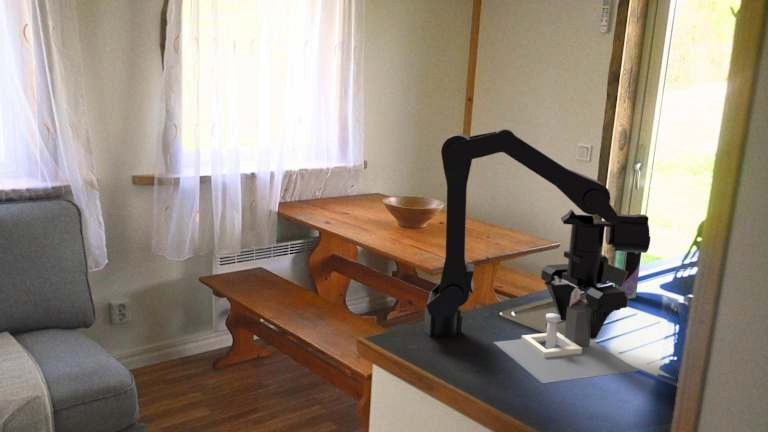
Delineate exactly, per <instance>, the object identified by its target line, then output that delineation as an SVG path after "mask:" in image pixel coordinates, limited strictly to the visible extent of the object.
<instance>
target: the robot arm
mask: <svg viewBox="0 0 768 432" xmlns="http://www.w3.org/2000/svg"><path fill="white" fill-rule="evenodd" d="M440 151H441V153H440V154H441V160H442V166H443V171H444V172H443V173H444V176H445V182H446V216H445V217H446V219H445V220H446V221H445V223H446V227H445V229H446V230H445V259H444V264H443V269H442V274H441V279H440V282H439V283H438V285H436V286H435V287H434V288H433V289H431V290H430V291H429V292H430V293H429V295H428V298H427V302H426V306H425V307H424V328H423V330H422V331H420V333H421V334H423V333H426V334H427V336H429V337H436V338H442V339H444V338H445V339H446V338H447V339H449V338H453V337H455V336H456V335H460V334H462V333H463V320H464V317H463V316H462V310H461V308H459V307H462V306H463V305H465V304H466V303H467V302H468V300H469V297H470V293H471V294H473V293H474V282H475V281H474V279H473V277H474V271H475V270H474V267H475V264H474V263H468V262H467V257H466V232H467V201H468V200H467V198H468V197H467V196H468V191H467V190H468V182H469V176H470V171H471V167H472V161H473V160H475V159H480V158H484V157H487V156H491V155H494V154H500V153H504V154H505V155H507V156H509V157H510V158H511V159H513V160H515V161H516V162H518V163H520V164H521V165H522V166H524V167H526V168H527V169H528V170H530V171H532V172H533V173H535V174H536V175H538V176H540V177H541V178H543V179H544V180H546V181H547V182H549V184H552V185H553V186H555V187H556V188H557V189H558V190H560V192H562V194H563V195H564V196H565V197H566V198H568V200H569V201H571V202H572V203H573V204H574V205H575V206H576V207H577V208H579V210H581V212H583V213H585V214H578V213H575V211H574V210H573V209H569V211H568V212H567V213H566V214H564V215H563V216H561V217H560V220H561V222H562V224H563V225H571V226H570V227H571V228H570V229H571V230H570V237H569V238H570V239H569V250H564V251H563V258H566V259H568V260H567V261H568V265H566V263H561V264H559V263H558V264H546V265H545V266H543V268H542V269H541V274H540V276H541V277H540V280H542V281H544V285H545V286H546V287H547V290H548V292H549V294H550V296H551V298H552V301H553V303H554V307H555V309H556V312H557V314H558V315H560V316H561V318H560V321H561V322H562V321H563V322H564V321H565V322H566V314H567V307H569V305H570V299H571V294H572V292H573V291H574V289H575V288H578V289H579V290H580V292H581V291H582V292H583V293H585V300H586V303H584V305H583V306H585V313H586V319H587V326H588V332H589V337H590V340H594V339H595V340H596V338H597V337H598V335H599V333H600V331H601V330H602V327H603V326H604V324H605V322H606V321H607V319H608V317H609V316H610V315H611V313H613V312H616V311H620V310H621V309H627V308H628V302H629V299H628V295H627V294H626V293H625V292H624V291H622V290H620V289H618V288H616V287H613V285H607V284H608V282H609V283H611V284H613V283H614V284H617V285H618V286H619V287H622V286H623V284H624V281H625V279H626V276H627V274H628V272H627V271H625V270H623V269H620V268H618V267H615V265H613V264H610V263H609V261H610V260H609V258H608V257H607V255H604V254H603V248H604V247H603V245H604V239H605V244H606V245H607V246H610V248H611V251H613V252H614V251H615V252H617V251H626V252H640V253H641V254H642V253H644V254H645V253H647V252H648V250H649V249H650V244H651V236H650V225H649V216H648V215H646V214H641V213H640V214H621V213H618V212H617V211H616V210H615V209H614V208H613V207H612V205H611V192H610V190H609V188H607V187H606V186H605V185H604V184H603V183H601V182H600V181H598V180H596V179H594V178H592V177H590V176H588V175H585V174H582V173H580V172H577V171H575V170H572V169H569V168H568V167H565V166H564V165H562V164H560V163H559V162H558V161H556V160H554V159H553V158H551V157H550V156H548V155H546V154H545V153H543V152H542V151H540V150H539V149H537V148H536V147H534V146H532V145H531V144H530V143H528V142H526V141H525V140H523V139H522V138H521V137H519V136H517V135H516V134H515V133H513V131H511V130H510V129H508V128H501V129H499V130H496V131H492V132H486V133H482V134H481V133H480V134H477V135H471V136H467V135H466V134H463V133H456V134H451V135H450V136H449V137H448V138H447V139H445V141H444V142H443V144H442V145H441V150H440ZM595 215H597V216H598V217H599V218H601V219H602V220H599V219H594V216H595ZM605 229H606V230H605ZM598 285H606V286H598Z"/></svg>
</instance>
